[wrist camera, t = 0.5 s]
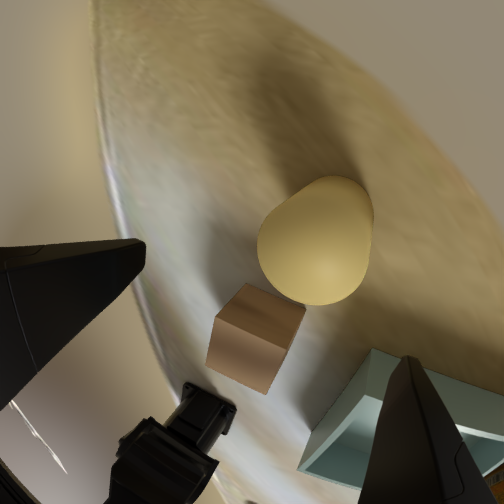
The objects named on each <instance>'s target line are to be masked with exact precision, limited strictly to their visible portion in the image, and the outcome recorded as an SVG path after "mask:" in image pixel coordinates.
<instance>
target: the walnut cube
mask: <svg viewBox="0 0 504 504" xmlns="http://www.w3.org/2000/svg"><path fill="white" fill-rule="evenodd" d="M305 312H306V309H304V308H302V307H299V306H297V305H295V304H292V303H290V302H288V301H285V300H283V299H281V298H279V297H276V296H274V295H272V294H269V293H267V292H265V291H262V290H260V289H258V288H256V287H253V286H251V285H249V284H247V283H246V284H245V285H244V286H243V287H242V288H241V289H240V290H239V291H238V293H237V294H236V295H235V296H234V297H233V298H232V299H231V300H230V301H229V302H228V303H227V304H226V305H225V306H224V308H223V309H222V310H221V311H220V312H219V313H218V314H217V315H216V316H215V319H214V324H213V329H212V334H211V339H210V343H209V348H208V353H207V358H206V363H205V365H206V366H207V367H209V368H211V369H213V370H215V371H217V372H219V373H221V374H223V375H225V376H227V377H229V378H231V379H233V380H235V381H237V382H239V383H241V384H243V385H245V386H247V387H249V388H251V389H253V390H256V391H258V392H260V393H262V394H264V395H266V394H267V392H268V390H269V388H270V386H271V384H272V382H273V380H274V379H275V377H276V375H277V373H278V371H279V369H280V367H281V365H282V363H283V361H284V359H285V357H286V355H287V353H288V351H289V349H290V346H291V344H292V342H293V340H294V337H295V335H296V333H297V330H298V328H299V326H300V323H301V321H302V319H303V316H304V314H305Z"/></svg>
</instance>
